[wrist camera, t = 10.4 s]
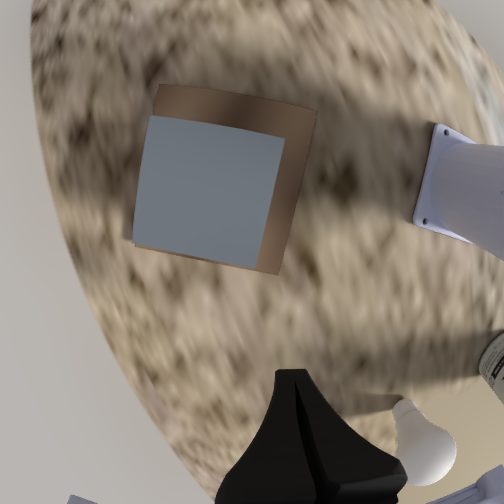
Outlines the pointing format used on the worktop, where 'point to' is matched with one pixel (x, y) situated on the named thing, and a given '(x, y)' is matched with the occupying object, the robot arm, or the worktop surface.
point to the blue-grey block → (205, 189)
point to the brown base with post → (257, 120)
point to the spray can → (494, 366)
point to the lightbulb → (422, 445)
